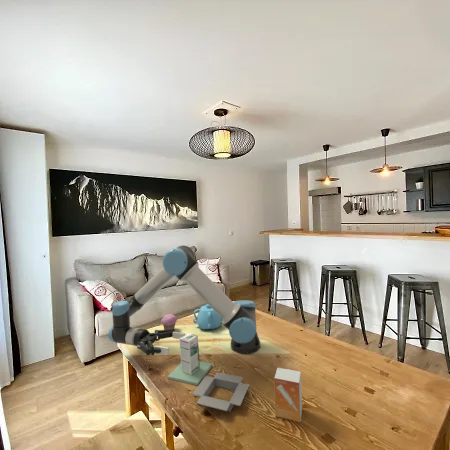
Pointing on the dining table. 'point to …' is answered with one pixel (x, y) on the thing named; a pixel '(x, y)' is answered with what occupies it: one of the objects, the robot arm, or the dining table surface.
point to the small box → (288, 394)
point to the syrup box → (189, 353)
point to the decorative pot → (207, 318)
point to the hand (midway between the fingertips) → (177, 343)
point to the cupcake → (169, 321)
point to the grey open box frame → (224, 382)
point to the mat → (191, 379)
